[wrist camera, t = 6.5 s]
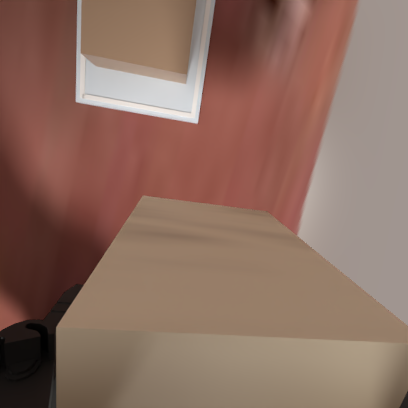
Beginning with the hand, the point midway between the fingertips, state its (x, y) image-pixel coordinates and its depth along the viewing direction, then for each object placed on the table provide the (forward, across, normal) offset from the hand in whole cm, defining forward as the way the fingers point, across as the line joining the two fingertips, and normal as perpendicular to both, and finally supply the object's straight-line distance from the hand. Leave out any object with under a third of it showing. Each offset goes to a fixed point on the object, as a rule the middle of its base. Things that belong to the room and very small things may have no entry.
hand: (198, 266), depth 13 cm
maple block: (+1, 0, 0) cm, 1 cm away
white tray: (+19, -7, +18) cm, 27 cm away
